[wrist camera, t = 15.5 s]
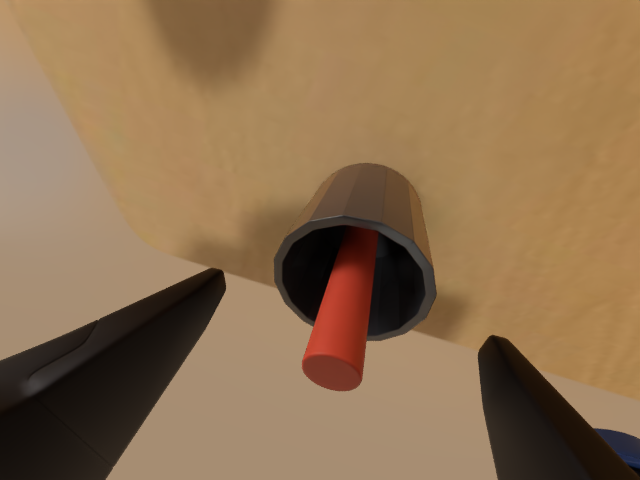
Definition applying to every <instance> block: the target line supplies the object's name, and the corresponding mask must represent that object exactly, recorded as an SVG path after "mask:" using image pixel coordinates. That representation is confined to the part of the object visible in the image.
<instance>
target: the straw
mask: <svg viewBox="0 0 640 480" xmlns="http://www.w3.org/2000/svg"><path fill="white" fill-rule="evenodd" d="M378 233H379V232H378V231H374V230H369V229H364V228H359V227H354V226H348V225H347V227H346V230H345V233H344V236H343V239H342V242H341V245H340V248H339V251H338V254H337V257H336V260H335V263H334V266H333V269H332V272H331V275H330V278H329V282H328V285H327V288H326V291H325V294H324V297H323V300H322V303H321V306H320V309H319V312H318V315H317V318H316V321H315V324H314V327H313V330H312V333H311V336H310V340H309V342H308V346H307V348H306V351H305V354H304V358H303V360H302V369H303V372H304V373H305V375H306V376H307V377H308V378H309V379H310V380H311V381H313V382H314V383H316V384H317V385H320V386H321V387H324V388H327V389H330V390H335V391H350V390H353V389H355V388H357V387H358V386H359V385H360V383H361V381H362V376H363V367H364V358H365V349H366V340H367V331H368V323H369V314H370V305H371V296H372V287H373V278H374V269H375V260H376V251H377V242H378Z"/></svg>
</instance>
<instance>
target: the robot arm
mask: <svg viewBox="0 0 640 480" xmlns="http://www.w3.org/2000/svg"><path fill="white" fill-rule="evenodd" d="M225 291H226V283H225V277H224V272H223V271H222V270H220V269H216V268H210V269H207V270H205V271H203V272H201V273H199V274H196V275H194V276H192V277H190V278H188V279H185V280H183V281H181V282H179V283H177V284H175V285H173V286H170V287H168V288H166V289H164V290H162V291H159V292H157V293H155V294H153V295H151V296H149V297H146V298H144V299H142V300H140V301H137V302H135V303H133V304H131V305H129V306H127V307H124V308H122V309H120V310H118V311H116V312H113V313H111V314H109V315H107V316H105V317H103V318H100V319H99V320H96V321H94V322H91V323H89V324H87V325H85V326H83V327H80V328H78V329H76V330H74V331H72V332H69V333H67V334H65V335H62V336H60V337H58V338H55V339H53V340H51V341H48V342H46V343H43V344H41V345H38V346H36V347H33V348H31V349H28V350H26V351H23V352H21V353H18V354H16V355H13V356H11V357H8V358H6V359H3V360H1V361H0V480H106V478H107V477H108V475H109V474H110V472H111V471H112V469H113V467H114V466H115V464H116V463H117V461H118V460H119V458H120V457H121V455H122V454H123V452H124V451H125V449H126V448H127V446H128V445H129V443H130V442H131V440H132V439H133V437H134V436H135V434H136V433H137V431H138V430H139V428H140V427H141V425H142V424H143V422H144V421H145V419H146V417H147V416H148V415H149V413H150V412H151V410H152V409H153V407H154V406H155V404H156V403H157V401H158V400H159V398H160V397H161V395H162V394H163V392H164V391H165V389H166V388H167V386H168V385H169V383H170V382H171V380H172V379H173V377H174V376H175V374H176V373H177V371H178V370H179V368H180V367H181V365H182V364H183V362H184V361H185V359H186V357H187V356H188V355H189V353H190V352H191V350H192V349H193V347H194V346H195V344H196V343H197V341H198V340H199V338H200V337H201V335H202V334H203V332H204V330H205V329H206V327H207V325H208V324H209V322H210V320H211V318H212V316H213V314H214V312H215V310H216V308H217V306H218V304H219V303H220V300H221V299H222V297H223V295H224V293H225ZM478 363H479V374H480V384H481V394H482V403H483V410H484V415H485V420H486V425H487V430H488V435H489V439H490V444H491V449H492V454H493V459H494V463H495V468H496V473H497V478H498V480H640V469H638V468H634V467H631V466H628V465H627V464H626V463H625V461H624V460H623V459H622V458H621V457H620V456H619V455H618V454H617V453H616V452H615V451H614V450H613V449H612V448H611V447H610V446H609V445H608V444H607V443H606V442H605V441H604V439H603V438H602V437H601V436H600V435H599V434H598V433H597V432H596V431H595V430H594V429H593V428H592V427H591V426H590V425H589V424H588V423H587V422H586V421H585V420H584V419H583V417H582V416H581V415H580V414H579V413H578V412H577V411H576V410H575V409H574V408H573V407H572V406H571V405H570V404H569V403H568V402H567V401H566V400H565V399H564V398H563V397H562V395H561V394H560V393H559V392H558V391H557V390H556V389H555V388H554V387H553V386H552V385H551V384H550V383H549V382H548V381H547V380H546V379H545V378H544V377H543V376H542V375H541V373H540V372H539V371H538V370H537V369H536V368H535V367H534V366H533V365H532V364H531V363H530V362H529V361H528V360H527V359H526V358H525V357H524V356H523V355H522V354H521V353H520V352H519V350H518V349H517V348H516V347H515V346H514V345H513V344H512V343H511V342H510V341H509V340H508V339H506V338H504V337H499V336H495V335H491V336H489V337H488V339H487V340H486V341H485V343H484V344H483V345H482V347H481V348H480V350H479V352H478Z"/></svg>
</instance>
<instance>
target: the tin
mask: <svg viewBox="0 0 640 480" xmlns="http://www.w3.org/2000/svg"><path fill="white" fill-rule="evenodd" d="M347 225H348V226H354V227H359V228H364V229H369V230H374V231H378V232H379V233H378V242H377V251H376V260H375V269H374V278H373V287H372V296H371V305H370V314H369V323H368V331H367V340H366V341H382V340H385V339H389V338H392V337H396V336H399V335H403V334H405V333H407V332H408V331H410V330H411V329H412V328H414V327H415V326H416V325H418V324H419V323H420V322H422V321H423V320H424V319H425V318H426V317H427V315H428V313H429V311H430V309H431V306H432V304H433V302H434V300H435V298H436V295H437V292H436V284H435V276H434V268H433V263H432V258H431V253H430V247H429V242H428V237H427V232H426V227H425V222H424V217H423V212H422V206H421V201H420V198H419V197H418V195H417V193H416V191H415V189H414V187H413V186H412V185H411V184H410V182H409V181H408V180H407V179H406V178H405V177H404V176H402V175H401V174H399V173H398V172H396V171H395V170H393V169H391V168H388V167H385V166H382V165H378V164H370V163H363V164H355V165H351V166H347V167H344V168H342V169H340V170H338V171H337V172H335V173H334V174H332V175H331V176H330V177H329V178H328V179H327V180H326V181H324V182H323V183H322V184H321V186H320V187H319V189H318V190H317V192H316V193H315V195H314V196H313V197H312V199H311V200H310V202H309V203H308V205H307V206H306V208H305V209H304V211H303V212H302V213H301V215H300V216H299V218H298V219H297V221H296V222H295V224H294V225H293V226H292V228H291V229H290V231H289V232H288V234H287V235H286V237H285V238H284V240H283V242H282V244H281V246H280V248H279V250H278V252H277V253H276V255H275V257H274V280H275V284H276V286H277V288H278V290H279V292H280V294H281V296H282V298H283V300H284V302H285V303H286V305H287V306H288V307H290V308H291V309H292V310H293V312H295V314H297V316H298V317H299V318H301V319H302V320H303V321H304V322H306V323H308V324H310V325H311V326H313V327H314V324H315V321H316V318H317V315H318V312H319V309H320V306H321V303H322V300H323V297H324V294H325V291H326V288H327V285H328V282H329V278H330V275H331V272H332V269H333V266H334V263H335V260H336V257H337V254H338V251H339V248H340V245H341V242H342V239H343V236H344V233H345V230H346V227H347Z"/></svg>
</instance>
